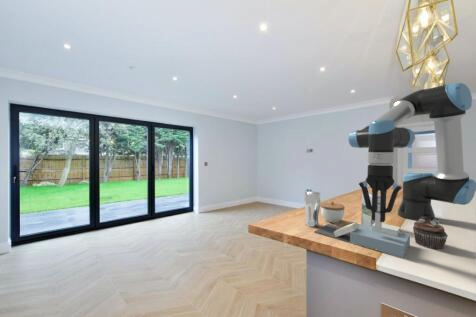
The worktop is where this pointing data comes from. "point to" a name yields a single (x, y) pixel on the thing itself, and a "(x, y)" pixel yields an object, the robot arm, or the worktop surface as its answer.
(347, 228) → the front tile
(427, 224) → the cupcake
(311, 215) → the beer glass
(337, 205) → the lidded jar
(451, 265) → the worktop surface
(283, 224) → the worktop surface
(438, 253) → the worktop surface
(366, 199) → the robot arm
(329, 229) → the mat
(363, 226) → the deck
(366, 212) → the syrup box
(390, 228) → the rear tile
